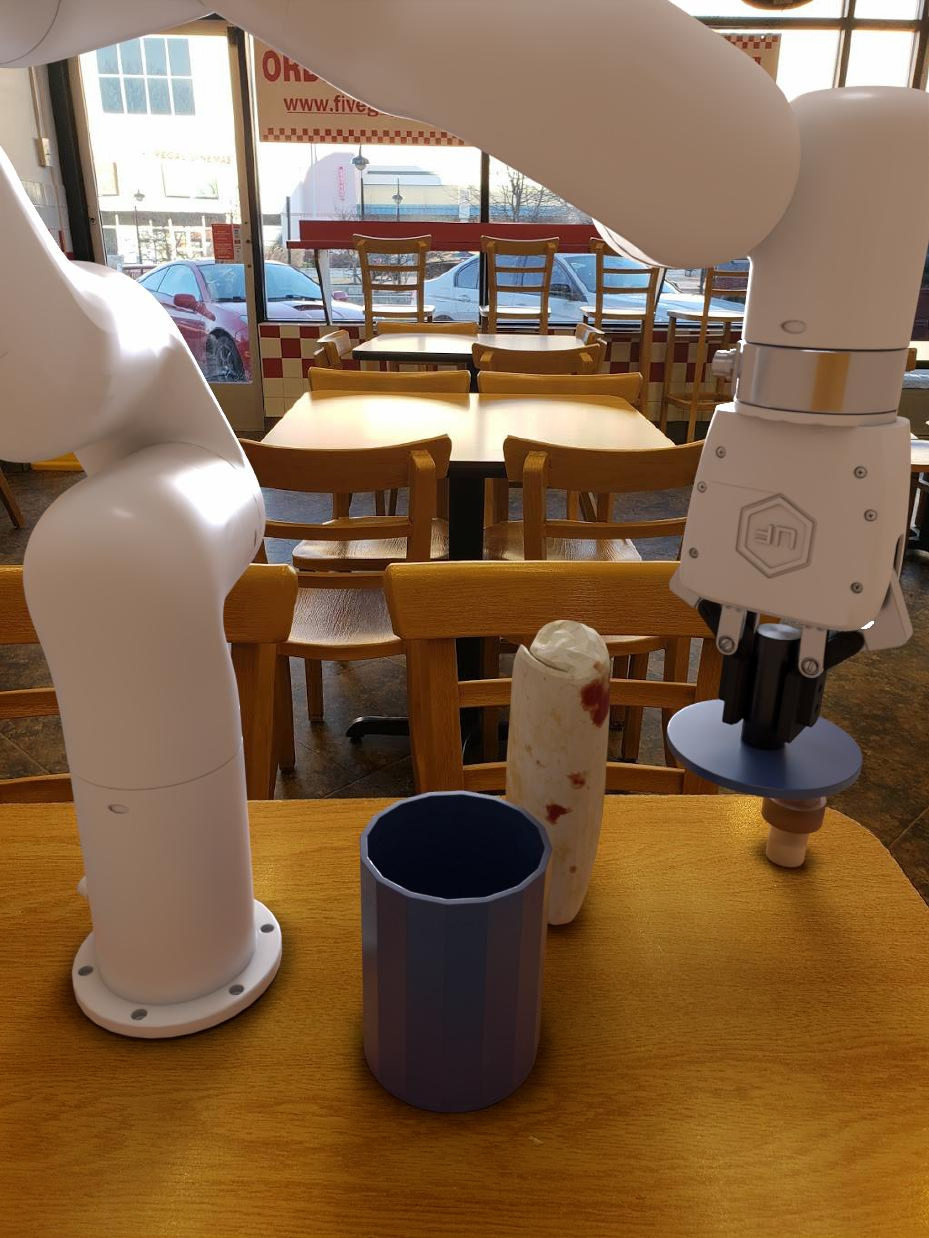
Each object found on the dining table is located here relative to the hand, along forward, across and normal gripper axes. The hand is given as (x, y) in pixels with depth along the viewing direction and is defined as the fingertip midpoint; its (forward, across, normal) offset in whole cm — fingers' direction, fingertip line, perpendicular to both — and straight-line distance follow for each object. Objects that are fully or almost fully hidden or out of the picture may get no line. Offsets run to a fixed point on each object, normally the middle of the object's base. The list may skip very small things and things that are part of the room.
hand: (765, 721), depth 52 cm
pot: (+19, -11, -14) cm, 26 cm away
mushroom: (+19, -2, +16) cm, 25 cm away
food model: (+19, -14, +1) cm, 23 cm away
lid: (+2, 0, 0) cm, 2 cm away
